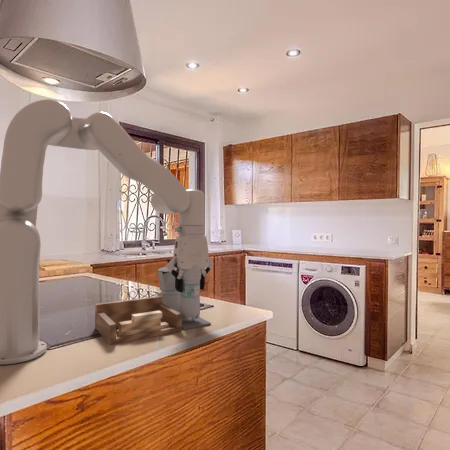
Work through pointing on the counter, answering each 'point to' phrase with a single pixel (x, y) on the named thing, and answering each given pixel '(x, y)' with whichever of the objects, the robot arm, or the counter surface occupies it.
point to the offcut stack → (142, 323)
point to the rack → (123, 310)
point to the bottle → (190, 293)
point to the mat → (194, 323)
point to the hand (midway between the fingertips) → (190, 289)
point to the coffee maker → (168, 288)
